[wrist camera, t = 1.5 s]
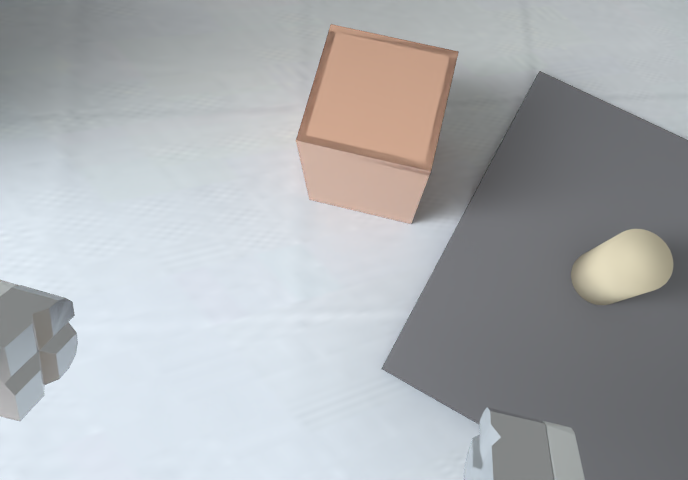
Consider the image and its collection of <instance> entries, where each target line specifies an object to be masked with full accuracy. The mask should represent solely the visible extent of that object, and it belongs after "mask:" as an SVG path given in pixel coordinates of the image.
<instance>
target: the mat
mask: <svg viewBox="0 0 688 480" xmlns="http://www.w3.org/2000/svg"><path fill="white" fill-rule="evenodd" d="M382 369H383V370H385V371H386V372H388V373H390V374H392V375H393V376H395V377H397V378H399V379H400V380H402V381H404V382H406V383H407V384H409V385H411V386H413V387H414V388H416V389H418V390H420V391H421V392H423V393H425V394H427V395H428V396H430V397H432V398H434V399H435V400H437V401H439V402H441V403H443V404H444V405H446V406H448V407H450V408H451V409H453V410H455V411H457V412H458V413H460V414H462V415H464V416H465V417H467V418H469V419H471V420H472V421H474V422H476V423H478V424H479V425H480V419H481V417H482V414H483V412H484V411H485V409H486V408H487V407H489V408H493V409H497V410H501V411H505V412H509V413H513V414H517V415H521V416H525V417H529V418H533V419H537V420H540V421H546V422H550V423H554V424H558V425H562V426H566V427H570V428H572V430H573V431H574V432H575V436H576V441H577V445H578V450H579V455H580V459H581V464H582V468H583V473H584V478H585V480H688V140H686V139H684V138H682V137H680V136H677V135H675V134H673V133H671V132H669V131H667V130H665V129H662V128H660V127H658V126H656V125H654V124H652V123H650V122H648V121H645V120H643V119H641V118H639V117H637V116H635V115H633V114H630V113H628V112H626V111H624V110H622V109H620V108H618V107H615V106H613V105H611V104H609V103H607V102H605V101H603V100H600V99H598V98H596V97H594V96H592V95H590V94H588V93H586V92H583V91H581V90H579V89H577V88H575V87H573V86H571V85H568V84H566V83H564V82H562V81H560V80H558V79H556V78H553V77H551V76H549V75H547V74H545V73H543V72H541V71H539V73H538V75H537V77H536V79H535V80H534V82H533V84H532V86H531V88H530V90H529V92H528V94H527V96H526V97H525V99H524V101H523V103H522V105H521V107H520V109H519V111H518V113H517V114H516V116H515V118H514V120H513V122H512V124H511V126H510V128H509V129H508V131H507V133H506V135H505V137H504V139H503V141H502V143H501V145H500V146H499V148H498V150H497V152H496V154H495V156H494V158H493V160H492V162H491V163H490V165H489V167H488V169H487V171H486V173H485V175H484V177H483V178H482V180H481V182H480V184H479V186H478V188H477V190H476V192H475V194H474V195H473V197H472V199H471V201H470V203H469V205H468V207H467V209H466V211H465V212H464V214H463V216H462V218H461V220H460V222H459V224H458V226H457V227H456V229H455V231H454V233H453V235H452V237H451V239H450V241H449V243H448V244H447V246H446V248H445V250H444V252H443V254H442V256H441V258H440V260H439V261H438V263H437V265H436V267H435V269H434V271H433V273H432V275H431V276H430V278H429V280H428V282H427V284H426V286H425V288H424V290H423V292H422V293H421V295H420V297H419V299H418V301H417V303H416V305H415V307H414V309H413V310H412V312H411V314H410V316H409V318H408V320H407V322H406V324H405V325H404V327H403V329H402V331H401V333H400V335H399V337H398V339H397V341H396V342H395V344H394V346H393V348H392V350H391V352H390V354H389V356H388V358H387V359H386V361H385V363H384V365H383V367H382Z"/></svg>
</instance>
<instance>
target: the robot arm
mask: <svg viewBox="0 0 688 480" xmlns="http://www.w3.org/2000/svg"><path fill="white" fill-rule="evenodd" d="M73 317H74V309H73V303H72V301H70V300H68V299H67V298H64V297H61V296H57V295H54V294H50V293H47V292H43V291H40V290H36V289H33V288H29V287H26V286H22V285H16V284H13V283H10V282H6V281H3V280H0V416H1V417H5V418H9V419H13V420H17V421H21V420H22V419H23V418H24V417H25V416H26V415H27V414H28V412H29V411H30V410H31V409H32V408H33V407H34V406H35V405H36V404H37V403H38V402H39V401H40V400H41V398H42V397H43V396H44V385H46V384H48V383H51V382H53V381H56V380H58V379H60V378H61V377H62V376H63V374H64V373H65V372H66V371H67V370H68V369H69V367H70V365H71V363H72V361H73V359H74V357H75V355H76V350H77V344H78V341H77V333H76V331H75V330H74V329H73V328H72V326H71V325H70V324H69V321H70V320H71V319H72V318H73ZM464 480H585V478H584V473H583V468H582V464H581V459H580V455H579V450H578V445H577V441H576V436H575V432H574V431H573V430H572V428H570V427H566V426H562V425H558V424H554V423H550V422H546V421H540V420H537V419H533V418H529V417H525V416H521V415H517V414H513V413H509V412H505V411H501V410H497V409H493V408H489V407H487V408H486V409H485V411H484V412H483V414H482V417H481V419H480V435H478V436H476V437H474V438H473V439H472V442H471V445H470V447H469V450H468V454H467V458H466V463H465V469H464Z"/></svg>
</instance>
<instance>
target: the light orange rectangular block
mask: <svg viewBox="0 0 688 480" xmlns="http://www.w3.org/2000/svg"><path fill="white" fill-rule="evenodd" d="M457 56H458V51H453V50H449V49H444V48H439V47H435V46H430V45H425V44H421V43H416V42H411V41H407V40H402V39H397V38H393V37H388V36H383V35H379V34H374V33H369V32H365V31H360V30H355V29H351V28H346V27H341V26H337V25H332V24H331V25H330V29H329V32H328V35H327V39H326V42H325V45H324V49H323V52H322V55H321V59H320V62H319V65H318V69H317V72H316V75H315V79H314V82H313V85H312V89H311V92H310V95H309V99H308V102H307V105H306V109H305V112H304V115H303V119H302V122H301V125H300V129H299V132H298V136H297V139H296V142H297V147H298V151H299V156H300V160H301V165H302V169H303V173H304V178H305V182H306V187H307V191H308V196H309V200H313V201H317V202H322V203H326V204H330V205H334V206H338V207H342V208H347V209H351V210H355V211H359V212H363V213H368V214H372V215H376V216H380V217H384V218H388V219H393V220H397V221H401V222H405V223H409V224H412V221H413V218H414V216H415V213H416V210H417V207H418V205H419V202H420V199H421V197H422V194H423V191H424V189H425V186H426V183H427V181H428V178H429V175H430V173H431V169H432V165H433V160H434V156H435V152H436V147H437V143H438V139H439V134H440V130H441V126H442V121H443V117H444V113H445V108H446V104H447V100H448V95H449V91H450V87H451V82H452V78H453V73H454V69H455V65H456V60H457Z"/></svg>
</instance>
